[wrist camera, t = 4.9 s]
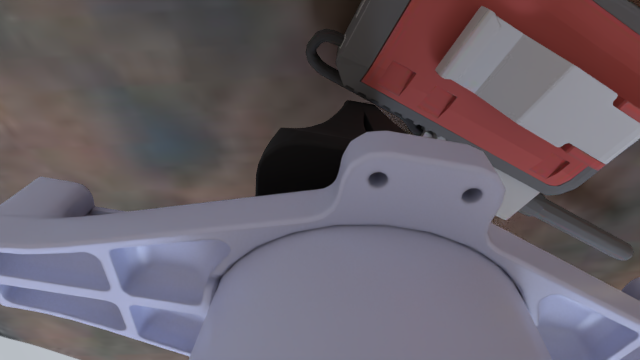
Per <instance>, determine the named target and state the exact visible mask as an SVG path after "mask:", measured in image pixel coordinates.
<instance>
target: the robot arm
mask: <svg viewBox="0 0 640 360" xmlns="http://www.w3.org/2000/svg"><path fill="white" fill-rule="evenodd" d="M505 191H506V188H505V187H504V185H503V183H502V181H501V179H500V177H499V175H498V173H497V172H496V170H495V169H494V167H493V166H492V164H491V163H490V161H489V160H488V158H487V157H486V155H485V154H484V152H483V151H481V150H478V149H476V148H474V147H472V146H470V145H468V144H462V143H457V142H451V141H445V140H439V139H433V138H427V137H422V136H416V135H410V134H408V133H406V132H405V131H403V130H402V129H401V128H399V127H398V126H397V125H396V124H394V123H393V122H392V121H391V120H390V119H389V118H388V117H387V116H386V115H384V114H383V113H382V112H381V111H380V110H379V109H378V108H377V107H376V106H375V105H372V104H367V103H361V102H355V101H349V100H348V101H346V102H345V103H344V106H343V107H342V108H341V109H340V110H339V112H338V113H337V114H335V115H334V116H333V117H332V118H330V119H329V120H328V121H326V122H324V123H322V124H318V125H315V126H312V127H307V128H280V129H279V131H278V132H277V133H276V134H275V136H274V137H273V138H272V140H271V141H270V142H269V144H268V145H267V147H266V149H265V151H264V152H263V155H262V157H261V159H260V162H259V164H258V168H257V173H256V196H255V197H247V198H239V199H230V200H222V201H213V202H205V203H196V204H188V205H179V206H171V207H162V208H154V209H145V210H137V211H128V212H126V211H120V210H114V209H108V208H102V207H95V205H94V200H93V197H92V194H91V192H90V191H89V189H88V188H86V187H85V186H84V185H82V184H79V183H76V182H71V181H65V180H59V179H52V178H46V177H38V178H37V179H36V180H34V181H33V182H31V183H30V184H29V185H27V186H26V187H25V188H23V189H22V190H20V191H19V192H18V193H16V194H15V195H13V196H12V197H11V198H9V199H8V200H7V201H5V202H4V203H2V204H1V205H0V303H1V304H2V305H3V306H8V307H14V308H20V309H25V310H30V311H36V312H41V313H45V314H50V315H54V316H58V317H62V318H66V319H71V320H74V321H77V322H81V323H84V324H88V325H91V326H95V327H98V328H101V329H105V330H108V331H111V332H114V333H117V334H120V335H124V336H127V337H130V338H133V339H136V340H139V341H142V342H146V343H149V344H152V345H155V346H158V347H161V348H165V349H168V350H171V351H174V352H177V353H180V354H183V355H187V356H190V357H189V360H640V277H639V278H635V279H634V280H632V281H630V282H629V283H628V284H627V285H626V286H625V287H624V288H623V289H622V291H620V290H618V289H616V288H614V287H612V286H611V285H609V284H607V283H605V282H603V281H601V280H599V279H597V278H595V277H593V276H592V275H590V274H588V273H586V272H584V271H582V270H580V269H578V268H576V267H574V266H573V265H571V264H569V263H567V262H565V261H563V260H561V259H559V258H557V257H555V256H554V255H552V254H550V253H548V252H546V251H544V250H542V249H540V248H538V247H536V246H535V245H533V244H531V243H529V242H527V241H525V240H523V239H521V238H519V237H517V236H516V235H514V234H512V233H510V232H508V231H506V230H504V229H502V228H500V227H498V226H497V225H495V224H493V223H491V221H492V219H493V218H494V216H495V215H496V213H497V212H498V210H499V208H500V207H501V205H502V202H503V198H504V194H505Z"/></svg>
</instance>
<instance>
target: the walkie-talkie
mask: <svg viewBox="0 0 640 360" xmlns="http://www.w3.org/2000/svg"><path fill="white" fill-rule="evenodd" d="M323 42H329V43H333V44H335V45H337V46H338V51H337V57H336V66H337V68H338V70H336V69H335V68H333V67H331V66H329V65H327V64H326V63H325V62H323V61H322V60H321V58H320V57H319V56H318V54H317V52H316V49H317V48H318V46H319V45H320V44H321V43H323ZM306 56H307V60H308V62H309V64H310V65H311V66H312V67H313V68H314V69H315V70H316V71H317V72H318V73H319V74H320V75H322V76H324V77H326V78H328V79H329V80H331V81H333V82H335V83H337V84H339V85H340V86H342V87H344V88H346V89H348V90H350V91H352V92H353V93H355V94H357V95H359V96H361V97H363V98H364V99H366V100H368V101H370V102H372V103H374V104H375V105H377V106H379V107H381V108H383V109H385V110H386V111H388V112H390V113H392V114H394V115H395V116H397V117H399V118H400V119H402V120H403V121H404V122H405V123H406V125H407V127H408V129H409V130H410V131H411V132H412V133H413V134H414V135H416V136H422V137H427V138H433V139H439V140H445V141H451V142H457V143H462V144H468V145H470V146H472V147H474V148H476V149H478V150H481V151H483V152H484V154H485V155H486V157H487V158H488V160H489V161H490V163H491V164H492V166H493V167H494V169H495V170H496V172H497V173H498V175H499V177H500V179H501V181H502V183H503V185H504V187H505V188H506V191H505V194H504V198H503V202H502V205H501V207H500V208H499V210H498V212H497V213H496V216H498V217H500V218H502V219H504V220H507V219H509V218H510V217H511V216H512V215H513V214H515V213H516V212H517V211H518V212H520V213H522V214H524V215H526V216H534V217H536V218H538V219H540V220H542V221H544V222H546V223H548V224H550V225H551V226H553V227H555V228H557V229H559V230H561V231H563V232H565V233H567V234H569V235H571V236H573V237H575V238H576V239H578V240H580V241H582V242H584V243H586V244H588V245H590V246H592V247H594V248H596V249H598V250H600V251H601V252H603V253H605V254H607V255H609V256H611V257H613V258H615V259H617V260H627V259H629V258H631V257H632V255H633V253H634V251H633V248H632V246H631V245H630V244H628V243H626V242H624V241H623V240H621V239H619V238H617V237H615V236H613V235H612V234H610V233H608V232H606V231H604V230H602V229H601V228H599V227H597V226H595V225H593V224H591V223H589V222H588V221H586V220H584V219H582V218H580V217H578V216H577V215H575V214H573V213H571V212H569V211H567V210H566V209H564V208H562V207H560V206H558V205H556V204H555V203H553V202H551V201H549V200H547V199H545V196H544V195H559V194H562V193H565V192H568V191H571V190H573V189H575V188H577V187H579V186H580V185H581V184H583V183H584V182H585V181H586V180H588V179H589V178H590V177H592V176H593V175H594V174H595V173H597V172H598V171H599V170H601V169H602V168H603V167H604V166H606V165H607V164H608V163H610V162H611V161H612V160H613V159H615V158H616V157H617V156H619V155H620V154H621V153H622V152H624V151H625V150H626V149H628V148H629V147H630V146H631V145H633V144H634V143H635V142H637V141H638V140H639V139H640V8H639V7H638V6H637V5H635V4H634V3H633V2H631V1H627V0H362V1H361V3H360V5H359V7H358V9H357V11H356V13H355V15H354V17H353V19H352V21H351V22H350V24H349V26H348V28H347V30H346V32H345V34H344V35H342V34H341V33H339V32H337V31H335V30H329V29H323V30H321V31H318V32H317V33H316V34H315V35H314V36H313V37H312V39H311V40H310V41H309V42H308V44H307V49H306ZM543 194H544V195H543Z"/></svg>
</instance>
